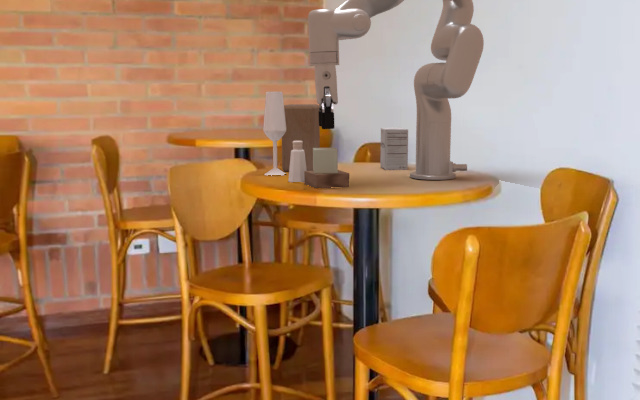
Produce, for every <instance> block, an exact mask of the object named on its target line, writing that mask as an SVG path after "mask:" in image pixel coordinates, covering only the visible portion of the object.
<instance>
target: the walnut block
mask: <svg viewBox="0 0 640 400" xmlns="http://www.w3.org/2000/svg"><path fill="white" fill-rule="evenodd" d="M303 183H304V185H305V184H306V185H305V186H307V185H309V186H308V187H310V186H311V187H310V188H312V187H314V188H313V189H315V188H326V189H332V188H331V187H342V188H350V173H349V172H346V171H343V170H340V169H338V173H315V174H314V172H313V171H304V182H303Z"/></svg>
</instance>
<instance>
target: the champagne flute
mask: <svg viewBox="0 0 640 400" xmlns="http://www.w3.org/2000/svg"><path fill="white" fill-rule="evenodd" d="M284 105H285V104H284V94H283V91H266V92H265V101H264V114H263V128H262V131H263V133H264V134H265V137H267V138H268V139H269V140H270V141H272V157H273V159H272V160H273V161H272V163H273V164H272V165H273V166H272V168H271V169H270V170H268V171H267V172H266V173H264V176H268V175H271V177H273V176H272V175H281V176H285V175H284V174H287V173H286V172H285V171H283V170H282V169H280V168H278V142H279V141H280V140H282V136H283V135H284V134H285V132H286V121H285V111H284Z"/></svg>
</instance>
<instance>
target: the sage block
mask: <svg viewBox="0 0 640 400" xmlns="http://www.w3.org/2000/svg"><path fill="white" fill-rule="evenodd" d="M338 151H339V150H338V149H337V147H320V148H313V172H314V174H315V173H338V170H339V169H338V163H339V162H338V156H339V153H338Z"/></svg>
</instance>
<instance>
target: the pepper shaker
mask: <svg viewBox="0 0 640 400" xmlns="http://www.w3.org/2000/svg"><path fill="white" fill-rule="evenodd" d="M292 143H293V150H292V151H291V156H290V168H289V171H288V182H289V183H293V182H302V183H304V171H307V170H306V161H305V152H304V150H302V149H303V148H302V147H303V146H302V144H303V141H293V142H292Z"/></svg>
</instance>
